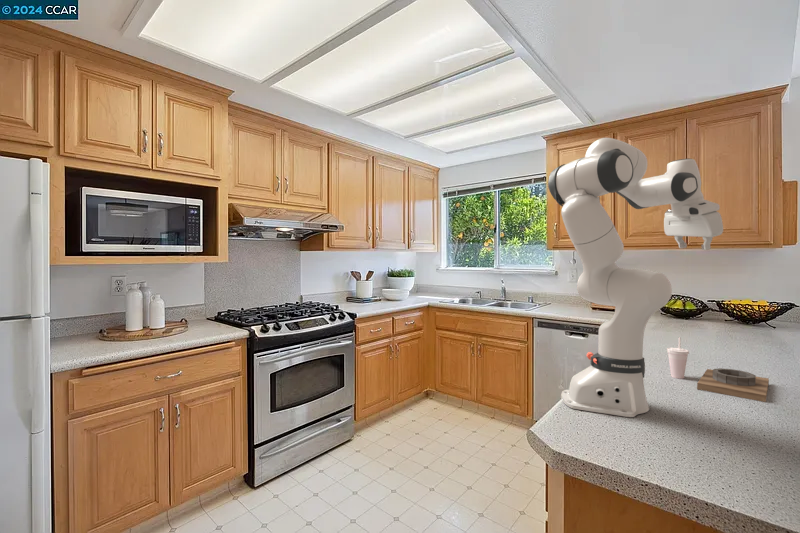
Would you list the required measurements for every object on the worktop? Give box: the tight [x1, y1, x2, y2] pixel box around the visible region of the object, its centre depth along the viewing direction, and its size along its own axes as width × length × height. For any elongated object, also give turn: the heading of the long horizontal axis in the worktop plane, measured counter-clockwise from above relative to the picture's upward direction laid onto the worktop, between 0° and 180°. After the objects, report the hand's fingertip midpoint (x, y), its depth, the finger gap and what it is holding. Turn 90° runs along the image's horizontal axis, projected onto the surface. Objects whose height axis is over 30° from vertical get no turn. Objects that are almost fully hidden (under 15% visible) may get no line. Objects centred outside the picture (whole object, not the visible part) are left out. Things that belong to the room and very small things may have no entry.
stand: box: [696, 368, 770, 403], centre depth 126 cm, size 22×16×4 cm
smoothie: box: [666, 336, 690, 380], centre depth 137 cm, size 6×6×14 cm
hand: (694, 248), depth 130 cm, fingers open, 8 cm apart
